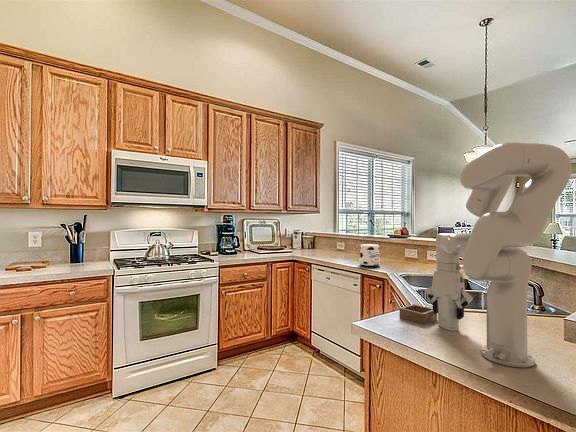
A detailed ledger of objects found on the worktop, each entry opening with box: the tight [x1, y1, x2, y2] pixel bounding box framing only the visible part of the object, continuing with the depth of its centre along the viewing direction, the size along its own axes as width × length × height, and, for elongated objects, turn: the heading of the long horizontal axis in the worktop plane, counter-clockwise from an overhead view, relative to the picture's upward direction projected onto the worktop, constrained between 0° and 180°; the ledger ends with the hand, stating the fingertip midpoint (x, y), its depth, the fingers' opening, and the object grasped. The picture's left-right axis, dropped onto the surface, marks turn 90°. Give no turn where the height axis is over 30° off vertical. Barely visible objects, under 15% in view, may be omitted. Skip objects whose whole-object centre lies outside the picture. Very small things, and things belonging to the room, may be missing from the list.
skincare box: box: [437, 295, 460, 332], centre depth 114 cm, size 6×4×12 cm
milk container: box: [358, 243, 381, 267], centre depth 264 cm, size 17×17×18 cm
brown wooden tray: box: [399, 303, 438, 326], centre depth 124 cm, size 10×10×4 cm
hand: (447, 315), depth 114 cm, fingers open, 7 cm apart
